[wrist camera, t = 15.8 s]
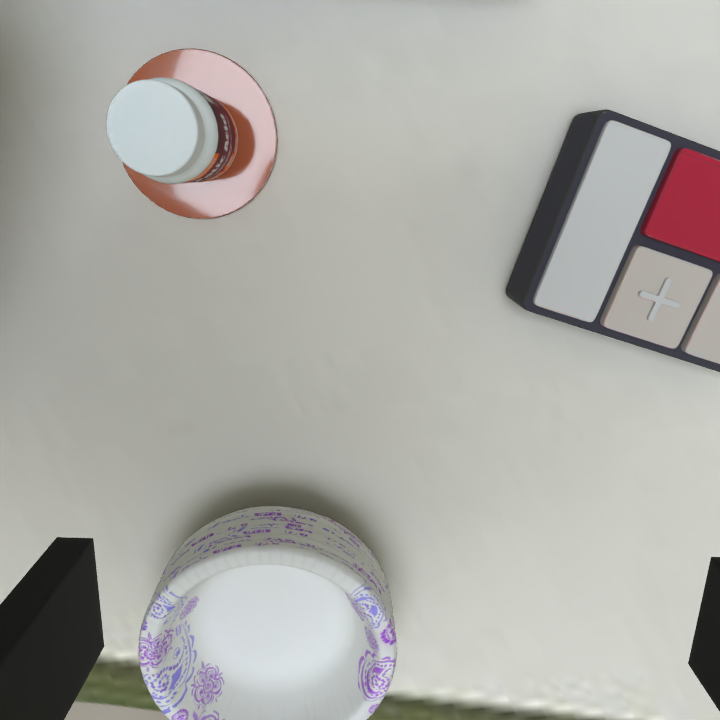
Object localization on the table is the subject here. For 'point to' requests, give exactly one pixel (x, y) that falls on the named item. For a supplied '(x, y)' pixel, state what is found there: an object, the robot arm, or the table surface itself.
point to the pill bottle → (171, 131)
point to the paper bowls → (270, 622)
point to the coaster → (252, 127)
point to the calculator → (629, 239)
